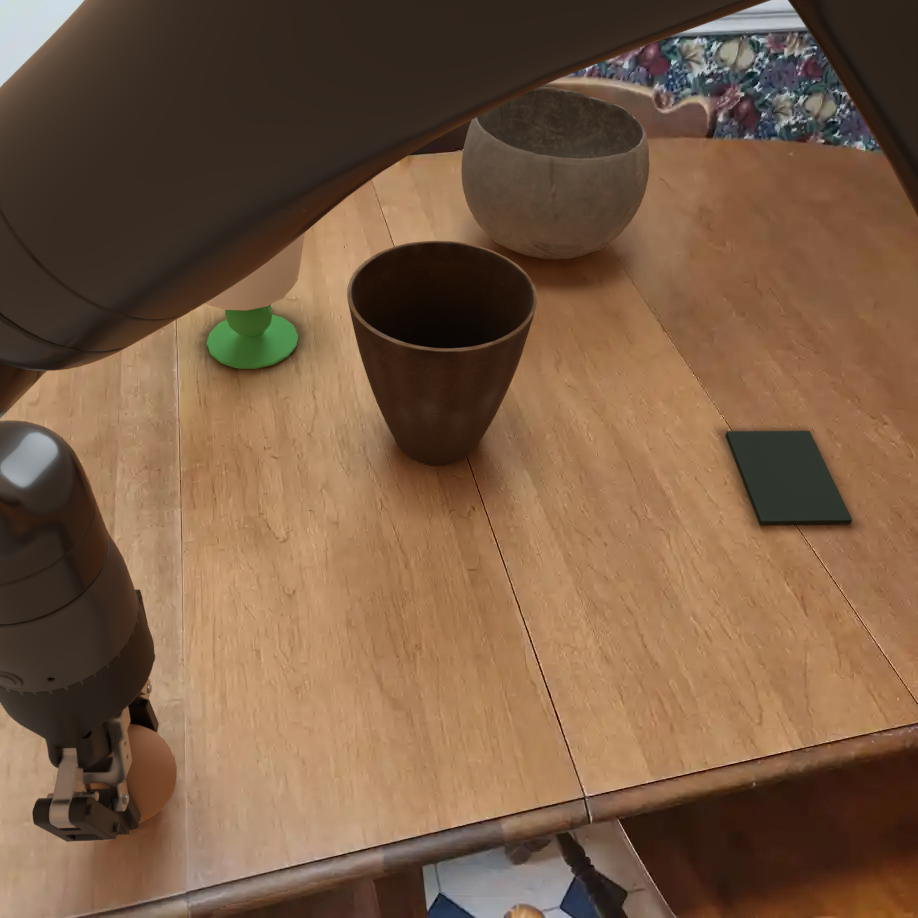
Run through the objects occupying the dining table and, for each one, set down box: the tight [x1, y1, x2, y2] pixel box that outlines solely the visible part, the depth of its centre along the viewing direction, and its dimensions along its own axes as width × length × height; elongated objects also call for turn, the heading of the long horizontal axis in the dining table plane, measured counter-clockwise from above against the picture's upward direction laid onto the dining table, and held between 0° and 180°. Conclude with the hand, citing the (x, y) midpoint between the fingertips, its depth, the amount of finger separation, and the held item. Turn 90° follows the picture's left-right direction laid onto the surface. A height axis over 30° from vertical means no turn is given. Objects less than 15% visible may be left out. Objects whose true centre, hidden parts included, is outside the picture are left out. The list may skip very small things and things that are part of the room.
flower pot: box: [346, 240, 538, 467], centre depth 75 cm, size 15×15×16 cm
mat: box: [725, 430, 853, 526], centre depth 79 cm, size 11×8×1 cm
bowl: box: [460, 86, 650, 260], centre depth 99 cm, size 20×20×15 cm
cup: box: [205, 232, 306, 370], centre depth 84 cm, size 14×14×16 cm
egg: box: [90, 724, 178, 823], centre depth 54 cm, size 5×5×8 cm
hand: (132, 775), depth 54 cm, fingers closed on egg, 5 cm apart
